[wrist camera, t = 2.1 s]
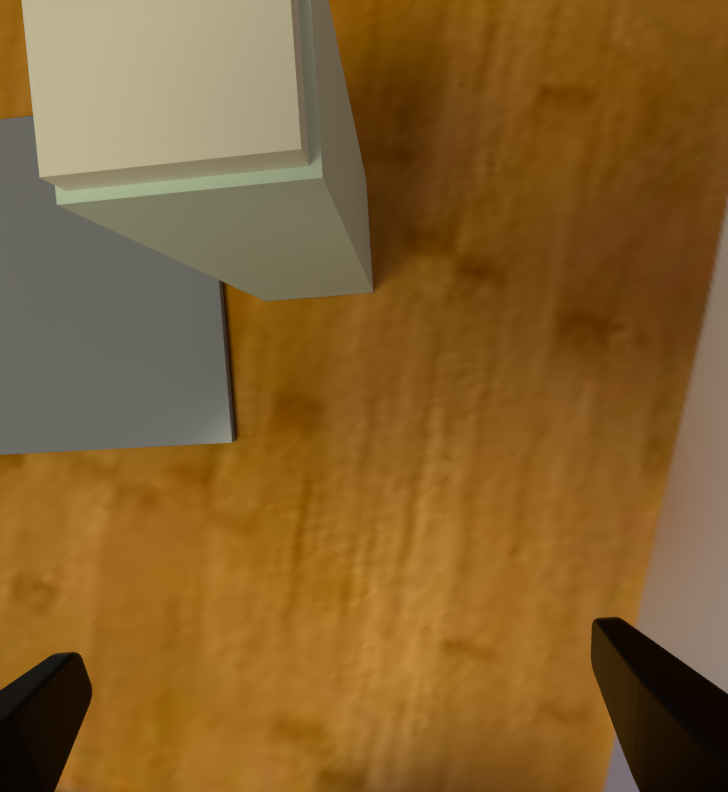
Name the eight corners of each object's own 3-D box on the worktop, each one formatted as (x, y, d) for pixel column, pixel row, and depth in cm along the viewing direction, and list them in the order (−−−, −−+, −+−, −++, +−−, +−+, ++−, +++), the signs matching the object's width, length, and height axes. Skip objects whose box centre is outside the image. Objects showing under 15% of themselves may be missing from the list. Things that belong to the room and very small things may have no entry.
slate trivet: (235, 441, 20) (232, 442, 20) (-66, 457, 22) (-75, 458, 21) (207, 100, 20) (203, 95, 19) (-104, 137, 21) (-114, 133, 20)
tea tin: (373, 292, 20) (316, 161, 7) (265, 301, 20) (28, 191, 7) (366, 179, 19) (293, -167, 7) (257, 190, 20) (-3, -116, 7)
